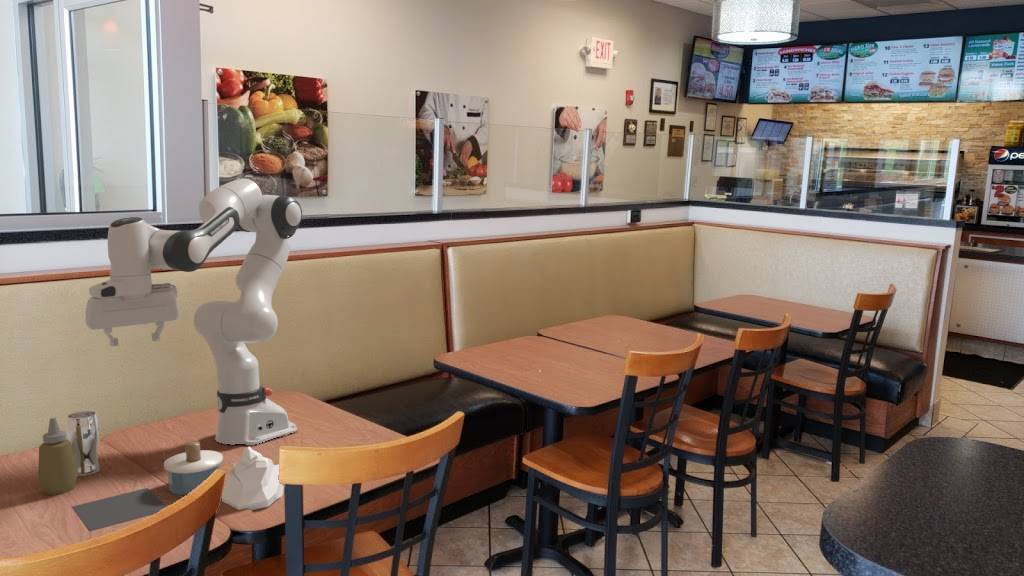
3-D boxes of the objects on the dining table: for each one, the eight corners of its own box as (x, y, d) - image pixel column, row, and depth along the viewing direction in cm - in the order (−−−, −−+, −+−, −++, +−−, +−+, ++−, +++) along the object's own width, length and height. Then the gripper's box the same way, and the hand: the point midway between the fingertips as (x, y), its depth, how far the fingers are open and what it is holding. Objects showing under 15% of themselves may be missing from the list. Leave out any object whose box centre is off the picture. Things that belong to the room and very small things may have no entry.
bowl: (210, 476, 194) (208, 451, 193) (226, 489, 186) (225, 463, 185) (163, 487, 187) (162, 462, 186) (179, 502, 179) (177, 475, 178)
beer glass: (88, 478, 193) (83, 419, 191) (64, 475, 194) (59, 417, 192) (108, 467, 200) (103, 411, 198) (84, 465, 201) (79, 409, 199)
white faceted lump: (293, 510, 178) (286, 458, 172) (223, 525, 173) (214, 473, 167) (286, 478, 189) (280, 428, 183) (221, 492, 184) (212, 441, 178)
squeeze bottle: (50, 486, 188) (43, 414, 185) (85, 484, 189) (78, 413, 186) (32, 499, 180) (25, 424, 178) (69, 498, 181) (62, 423, 178)
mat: (147, 491, 185) (147, 487, 185) (169, 512, 173) (169, 509, 173) (72, 509, 175) (71, 506, 175) (90, 534, 163) (89, 530, 163)
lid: (211, 449, 195) (210, 431, 194) (231, 464, 185) (230, 444, 184) (156, 462, 186) (155, 442, 185) (174, 477, 176) (173, 457, 176)
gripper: (172, 281, 195) (175, 335, 197) (81, 288, 182) (86, 346, 184) (180, 283, 191) (184, 339, 192) (88, 291, 177) (92, 351, 179)
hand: (135, 343), depth 188 cm, fingers open, 8 cm apart
